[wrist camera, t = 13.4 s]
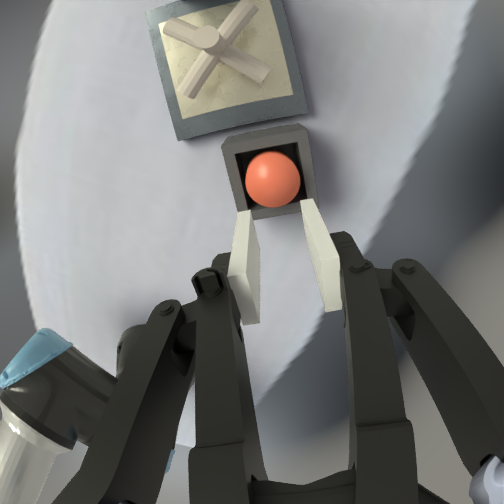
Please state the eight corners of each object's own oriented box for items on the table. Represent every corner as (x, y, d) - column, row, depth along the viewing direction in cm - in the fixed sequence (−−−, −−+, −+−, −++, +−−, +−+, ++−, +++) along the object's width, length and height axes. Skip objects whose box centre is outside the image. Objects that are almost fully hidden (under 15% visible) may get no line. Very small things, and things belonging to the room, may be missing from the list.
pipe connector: (293, 43, 23) (308, 19, 15) (237, 118, 28) (227, 128, 19) (209, -2, 21) (188, -38, 12) (157, 73, 25) (114, 68, 16)
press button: (299, 191, 29) (304, 202, 26) (252, 200, 29) (252, 211, 27) (291, 145, 26) (295, 151, 24) (241, 154, 27) (239, 161, 24)
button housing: (309, 189, 33) (319, 208, 28) (243, 201, 34) (240, 222, 29) (298, 123, 29) (306, 129, 24) (227, 137, 30) (220, 146, 25)
